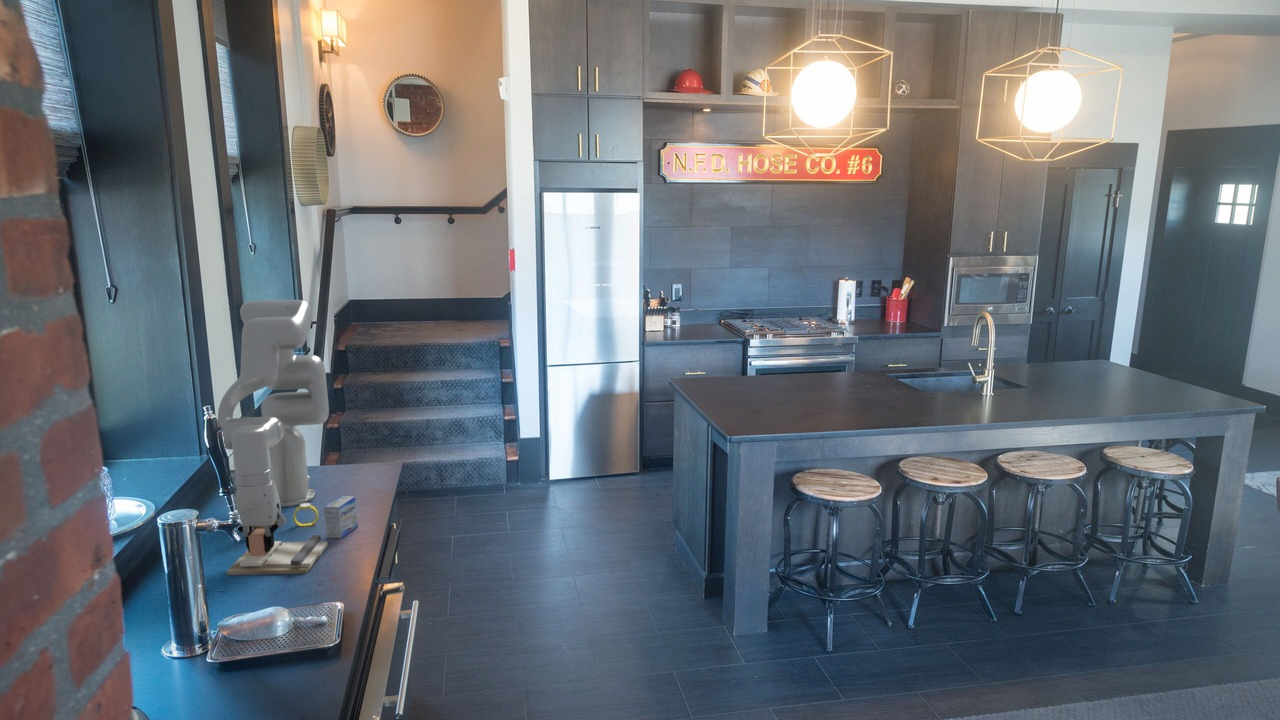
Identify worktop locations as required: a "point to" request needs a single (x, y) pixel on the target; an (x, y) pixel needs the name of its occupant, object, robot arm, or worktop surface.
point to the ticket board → (285, 559)
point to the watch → (305, 506)
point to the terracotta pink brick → (258, 549)
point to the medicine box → (340, 517)
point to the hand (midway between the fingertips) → (260, 549)
